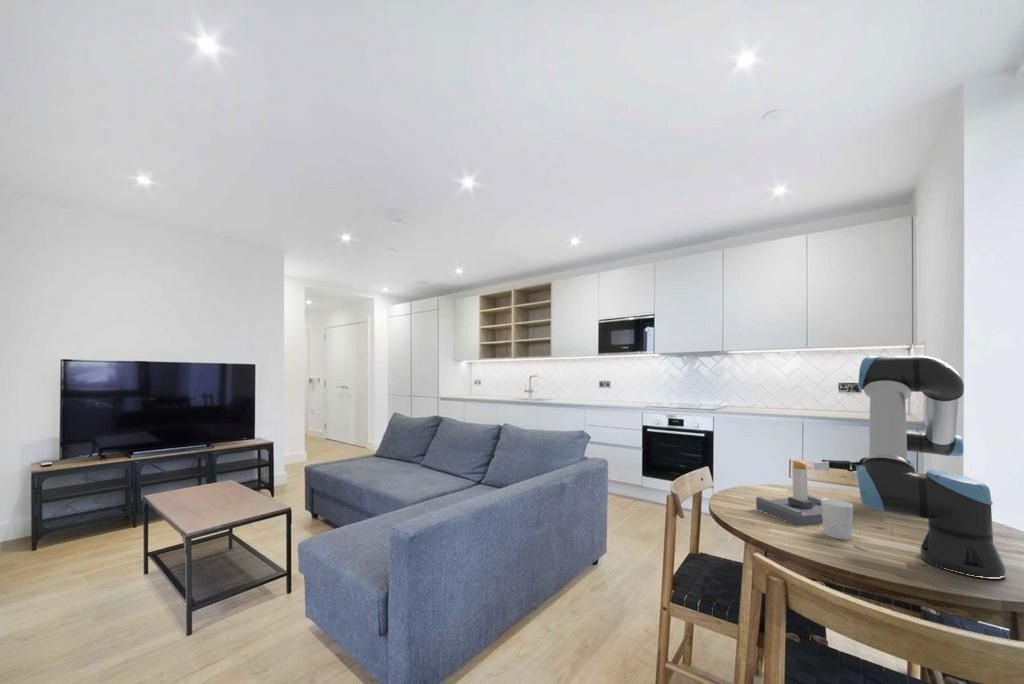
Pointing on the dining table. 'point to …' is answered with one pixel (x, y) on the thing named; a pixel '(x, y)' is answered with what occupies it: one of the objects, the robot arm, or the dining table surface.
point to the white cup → (837, 518)
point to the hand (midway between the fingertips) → (833, 470)
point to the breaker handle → (800, 486)
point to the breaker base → (792, 518)
